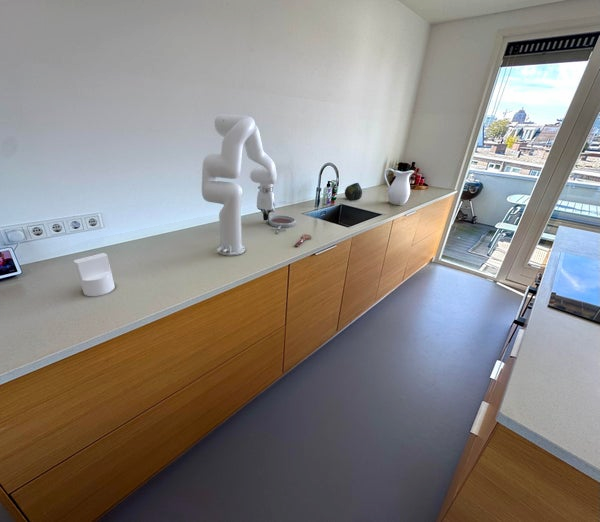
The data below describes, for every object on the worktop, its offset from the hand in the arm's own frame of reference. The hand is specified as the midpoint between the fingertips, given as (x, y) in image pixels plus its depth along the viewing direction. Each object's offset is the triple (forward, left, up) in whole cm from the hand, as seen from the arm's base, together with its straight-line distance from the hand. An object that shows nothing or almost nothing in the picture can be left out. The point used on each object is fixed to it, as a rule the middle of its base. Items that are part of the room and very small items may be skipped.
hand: (265, 219), depth 174 cm
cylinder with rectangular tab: (-95, +15, -2) cm, 96 cm away
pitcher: (+107, -65, -2) cm, 126 cm away
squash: (+97, -32, -2) cm, 103 cm away
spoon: (-17, -30, -2) cm, 35 cm away
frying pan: (0, -10, -2) cm, 10 cm away
